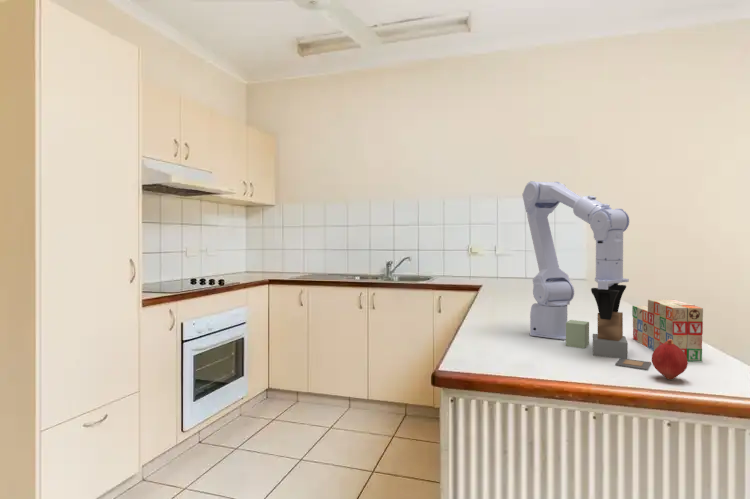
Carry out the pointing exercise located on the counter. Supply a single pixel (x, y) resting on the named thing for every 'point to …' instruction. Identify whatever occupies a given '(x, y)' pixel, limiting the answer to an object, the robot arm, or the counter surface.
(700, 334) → the stack of blocks
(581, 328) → the sage block
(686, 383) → the counter surface
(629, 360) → the card
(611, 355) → the slate base block
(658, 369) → the onion
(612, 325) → the walnut block
